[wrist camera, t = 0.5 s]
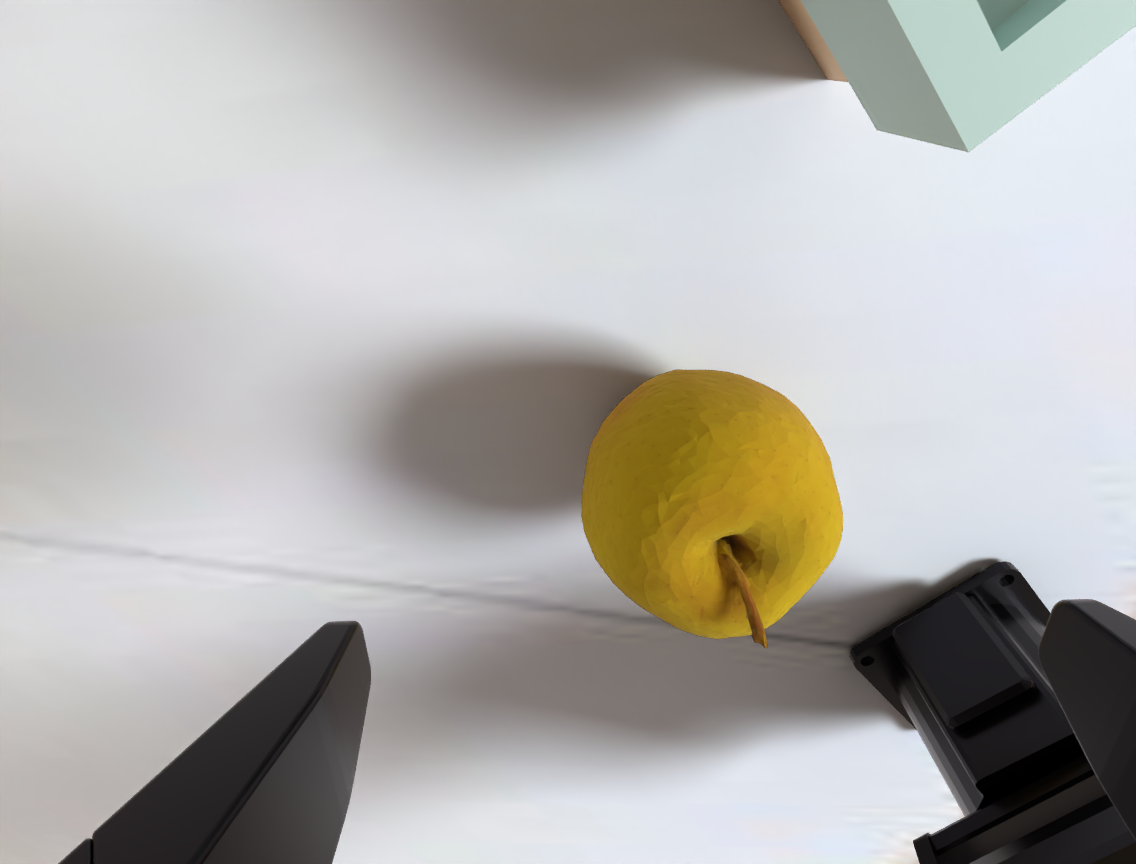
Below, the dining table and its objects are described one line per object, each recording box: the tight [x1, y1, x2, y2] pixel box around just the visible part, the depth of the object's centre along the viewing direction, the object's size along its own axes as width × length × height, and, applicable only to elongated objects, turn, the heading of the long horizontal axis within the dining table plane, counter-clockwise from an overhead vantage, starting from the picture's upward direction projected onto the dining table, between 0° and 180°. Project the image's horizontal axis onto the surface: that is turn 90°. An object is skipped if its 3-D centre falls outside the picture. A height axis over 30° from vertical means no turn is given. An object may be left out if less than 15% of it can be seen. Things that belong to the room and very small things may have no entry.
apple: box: [582, 370, 843, 648], centre depth 18 cm, size 6×6×8 cm
